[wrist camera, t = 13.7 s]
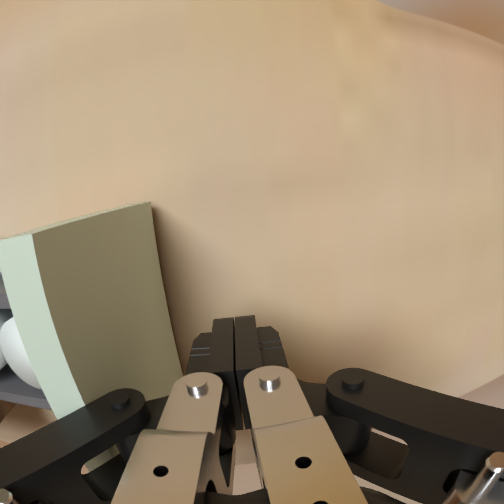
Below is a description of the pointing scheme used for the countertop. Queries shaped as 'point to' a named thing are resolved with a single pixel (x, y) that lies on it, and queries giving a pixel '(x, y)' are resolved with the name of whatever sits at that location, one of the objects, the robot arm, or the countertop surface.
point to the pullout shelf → (92, 309)
